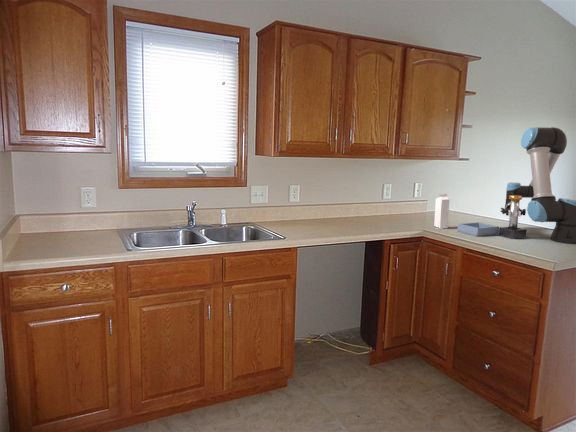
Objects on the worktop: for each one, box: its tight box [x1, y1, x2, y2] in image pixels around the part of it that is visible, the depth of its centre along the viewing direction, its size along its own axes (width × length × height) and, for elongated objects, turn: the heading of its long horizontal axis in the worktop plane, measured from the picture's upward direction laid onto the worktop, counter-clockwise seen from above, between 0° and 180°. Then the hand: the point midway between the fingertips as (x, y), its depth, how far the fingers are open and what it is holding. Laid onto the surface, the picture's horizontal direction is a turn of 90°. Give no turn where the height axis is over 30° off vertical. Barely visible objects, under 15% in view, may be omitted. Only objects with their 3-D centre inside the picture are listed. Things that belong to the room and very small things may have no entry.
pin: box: [508, 195, 523, 230], centre depth 242 cm, size 6×6×24 cm
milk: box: [433, 193, 450, 228], centre depth 270 cm, size 6×6×22 cm
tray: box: [457, 222, 500, 238], centre depth 254 cm, size 16×16×5 cm
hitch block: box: [498, 226, 528, 240], centre depth 244 cm, size 10×10×5 cm
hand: (514, 214), depth 237 cm, fingers closed on pin, 4 cm apart
